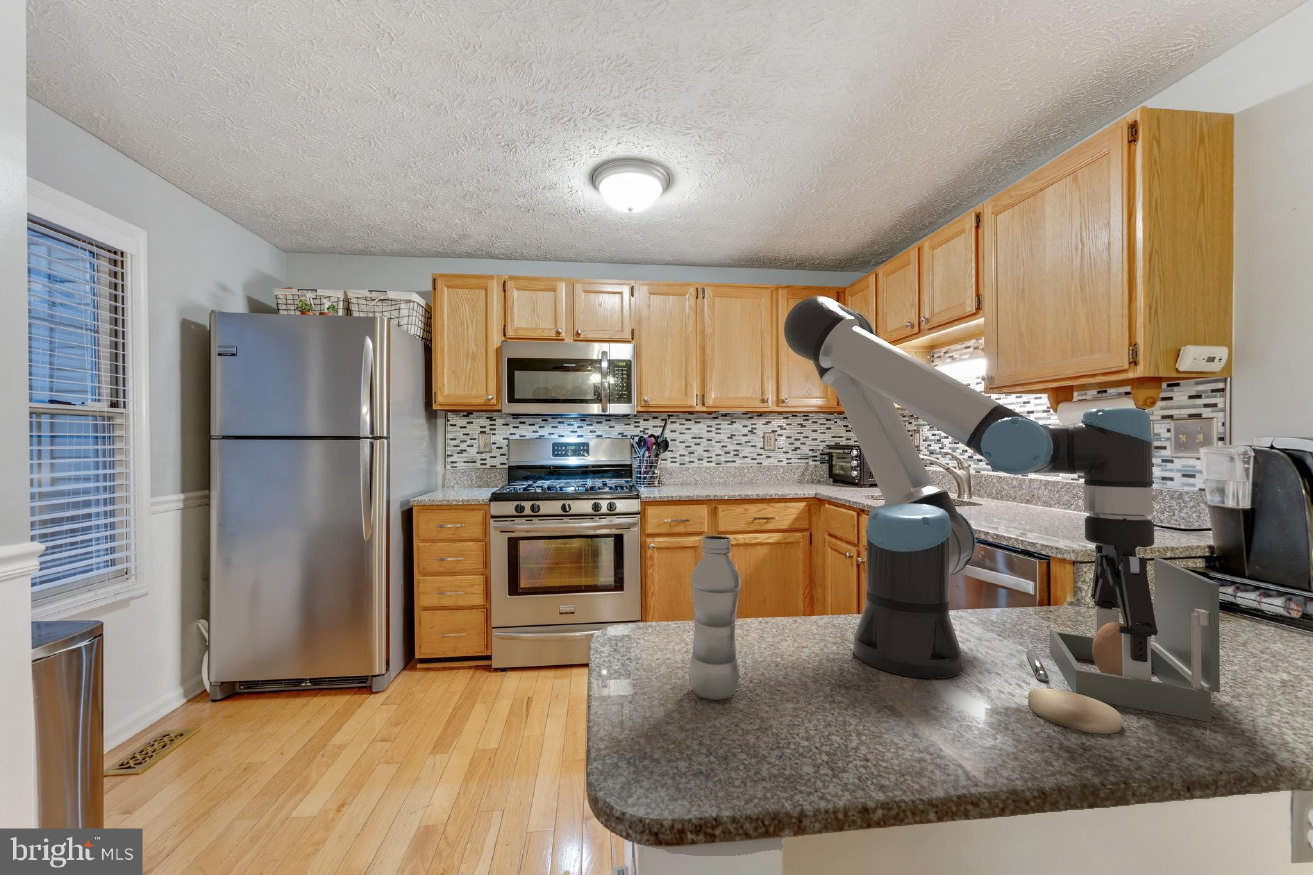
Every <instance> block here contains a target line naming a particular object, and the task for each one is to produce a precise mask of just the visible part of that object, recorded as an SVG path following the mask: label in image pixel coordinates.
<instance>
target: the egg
mask: <svg viewBox="0 0 1313 875" xmlns="http://www.w3.org/2000/svg"><path fill="white" fill-rule="evenodd" d="M1120 626H1123V627H1124V624H1123V622H1122V623H1121V622H1119V623H1118V622H1111V623H1108V624H1105V625H1104V626H1103V627H1101V628H1100V630H1099V631H1098V632H1097V634H1096V633H1095V636H1093V637H1094V639H1093V644H1092V656H1093V659H1094V660H1093V661H1094V664H1095V666H1096V667H1097V669H1098V670H1099V672H1101V673H1107V674H1113V675H1119V676H1123V666H1122V633H1119V632H1118V629H1119V627H1120Z"/></svg>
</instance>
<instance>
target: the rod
mask: <svg viewBox="0 0 1313 875" xmlns="http://www.w3.org/2000/svg"><path fill="white" fill-rule="evenodd" d="M1025 653H1026V656H1027V659H1028V661H1029V664H1030V665H1031V668H1032V670H1033V672H1034V675H1035V677H1036V678H1037V680H1038V681H1041V682H1048V681H1049V675H1048V672H1047V671H1046V669H1045V666H1044V665H1043V663H1042V661H1041V659H1040V657H1039V655H1038V653H1037V652H1036V651H1035V650H1033V649H1028V650H1026V652H1025Z"/></svg>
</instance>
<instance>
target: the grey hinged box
mask: <svg viewBox="0 0 1313 875" xmlns="http://www.w3.org/2000/svg"><path fill="white" fill-rule="evenodd" d="M1153 561H1154V562H1153V563H1154V564H1153V565H1154V567H1153V568H1154V569H1153V570H1154V571H1153V573H1154V574H1153V575H1154V583H1153V584H1154V588H1153V589H1154V590H1153V591H1154V597H1153V598H1154V599H1153V600H1154V601H1153V602H1154V605H1153V611H1154V616H1155V622H1156V627H1157V630H1158V633H1157V635H1156V636H1154V641H1151V673H1152V674H1154V675H1155V676H1156V677H1157V678H1158V680H1160V681H1153V680H1152V681H1148V680H1142V679H1137V678H1131V677H1125V676H1119V675H1113V674H1107V673H1102V672H1101V671H1094V670H1088V669H1083V668H1082V667H1081V666H1080V664H1079V663H1078V661H1077V660H1076V659H1084V660H1089V661H1094V659H1093V656H1092V644H1093V639H1094V637H1095V636H1093V635H1092V636H1091V635H1085V634H1084V635H1083V634H1079V633H1072V632H1064V631H1057V630H1052V629H1051V630H1049V653H1050V655H1051V657H1052V658H1053V660H1054V661H1055V664H1056V666H1057V668H1058V669H1059V670H1060V672H1061V674H1062V676H1063V677H1064V679H1065V681H1066V682H1067V684H1068V686H1069V688H1070V689H1071V692H1073V693H1077V694H1081V695H1084V696H1087V697H1090V698H1093V699H1096V700H1098V701H1101V702H1103V703H1105V704H1109V705H1110V704H1111V705H1117V706H1121V707H1127V708H1133V709H1136V710H1137V709H1139V710H1143V711H1148V712H1154V713H1159V714H1163V713H1165V714H1164V715H1170V716H1174V715H1176V717H1179V716H1180V718H1185V717H1187V719H1190V720H1195V719H1196V721H1201V720H1203V721H1202V722H1207V723H1212V702H1211V699H1212V696H1215V693H1221V684H1220V683H1221V680H1220V679H1221V677H1220V672H1221V671H1220V669H1221V667H1220V666H1221V665H1220V664H1221V662H1220V660H1221V658H1220V656H1221V655H1220V654H1221V653H1220V647H1221V646H1220V583H1218V582H1216V581H1213V580H1211V579H1209V578H1207V577H1204V576H1202V575H1199V574H1198V573H1195V572H1192V571H1190V570H1189V569H1186V568H1185V567H1184V568H1183V567H1181V566H1179V565H1177V564H1175V563H1172V562H1170V561H1167V560H1165V559H1163V558H1159V557H1158V558H1156V557H1154V560H1153ZM1075 658H1076V659H1075ZM1177 715H1178V716H1177Z"/></svg>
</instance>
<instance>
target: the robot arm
mask: <svg viewBox="0 0 1313 875" xmlns="http://www.w3.org/2000/svg"><path fill="white" fill-rule="evenodd" d="M783 335H784V339H785V342H786V344H787V346H788V347H789V348H790V350H791V351H792V352H793V353H794V354H796V355H797V356H799V357H802V358H804V359H806V360H810V361H812V363H813V365H814V367H815V369H816V372H817V374H818V376H819V378H820V381H821V382H822V384H823V385H825V386H829V387H831V388H833V390H834V393H835V394H836V396H837V399H838V401H839V403H840V406H841V407H842V410H843V412H844V414H845V416H846V418H847V420H848V423H849V425H850V426H851V429H852V432H853V434H854V436H855V438H856V440H857V443H858V445H859V447H860V449H861V452H862V454H863V456H864V458H865V460H866V462H867V465H868V467H869V469H870V471H871V473H872V475H873V478H874V480H875V482H876V484H877V487H878V489H879V491H880V493H881V497H882V498H883V501H884V503H883V505H880V506H879V505H878V506H876V507H874V508H873V509H871V510H870V511H869V514H868V516H867V525H866V529H865V535H866V574H865V576H866V583H865V584H866V588H865V589H866V590H865V591H866V592H865V593H866V594H865V595H866V598H865V606H864V608H863V611H862V613H861V617H860V619H859V622H858V624H857V628H856V630H855V632H854V633H855V634H854V636H853V653H854V655H855V656H856V657H857V659H859V660H860V661H861V662H863V663H865V664H867V665H869V666H871V667H874V668H876V669H878V670H882V671H885V672H888V673H892V674H894V675H895V674H896V675H900V676H905V677H911V678H918V679H930V680H931V679H947V678H948V679H949V678H953V677H956V676H958V675H960V674H961V673H962V671H963V651H962V650H961V646H960V644H959V640H958V638H957V637H958V636H957V634H956V632H955V628H954V625H953V622H952V619H951V615H950V584H951V583H950V582H951V581H950V580H951V578H950V576H953V575H956V574H958V573H959V572H961V571H962V570H964V569H965V568H966V567H967V566H968V565H969V564H970V562H971V560H972V559H973V557H974V554H975V551H976V548H977V536H976V533H975V531H974V528H973V526H972V524H971V523H970V522H969V520H968V519H967V518H966V517H965V516H964V515H963V513H960V512H959V511H958V510H957V507H956V505H955V504H954V502H953V500H952V498H951V496H950V494H949V492H948V490H947V489H946V488H944V487H941V486H938V485H936V484H934V482H933V481H932V479H931V476H930V475H929V473H928V471H927V468H926V467H925V464H924V462H923V460H922V458H921V456H920V454H919V452H918V450H917V448H916V446H915V444H914V441H913V440H912V438H911V436H910V434H909V431H908V430H907V427H906V425H905V423H904V421H903V419H902V417H901V415H900V413H899V411H898V409H897V407H896V405H897V406H898V407H900V408H902V409H904V410H905V411H907V412H909V413H910V414H911V415H914V416H915V417H916V418H918V419H920V420H922V421H923V422H924V423H927V424H928V425H930V426H931V427H933V428H935V429H937V430H938V431H940V432H942V433H943V434H945V435H947V436H948V437H950V438H951V439H953V440H954V441H956V442H958V443H960V444H962V445H963V446H965V447H966V448H968V449H970V451H972V452H974V453H975V454H978V455H979V456H980V457H982V458H984V459H985V460H986V461H987V463H988V464H989V466H990V469H991V470H993V471H995V472H998V473H1005V474H1008V475H1015V476H1019V475H1028V474H1071V475H1075V474H1081V475H1082V474H1083V478H1084V479H1083V483H1084V484H1083V509H1084V512H1085V513H1088V515H1086V517H1085V518H1084V539H1085V540H1086V541H1087V542H1089V543H1092V544H1093V543H1094V544H1095V546H1094V549H1095V557H1094V558H1095V561H1094V569H1093V578H1092V583H1091V584H1092V586H1091V592H1090V597H1091V599H1092V600H1093V603H1094V606H1095V609H1094V610H1095V611H1094V612H1095V620H1094V621H1095V635H1096V634H1097V632H1098V631H1099V630H1100V628H1101V627H1103V626H1104V625H1105V624H1108V623H1111V622H1118V623H1120V614H1121V618H1122V619H1121V620H1122V624H1124V627H1123V626H1120V627H1119V629H1118V632H1119V633H1122V666H1123V676H1125V677H1131V678H1137V679H1142V680H1148V681H1153V679H1152V671H1151V645H1152V641H1151V638H1152V636H1154V637H1155V636H1156V635H1157V633H1158V630H1157V627H1156V622H1155V615H1154V605H1153V600H1152V594H1151V588H1150V583H1149V577H1148V565H1147V564H1148V560H1147V559H1146V557H1144V556H1143V557H1140V556H1138V555H1137V552H1136V550H1137V548H1151V547H1153V546H1154V545H1155V523H1154V522H1153V520H1152V519H1148V517H1151V516H1153V515H1154V502H1156V501H1158V499H1159V495H1158V494H1156V493H1153V486H1154V485H1153V482H1154V481H1153V480H1154V478H1153V475H1154V474H1153V466H1154V465H1153V436H1152V435H1153V434H1152V425H1151V416H1150V414H1149V413H1148V412H1147V411H1146V410H1144V409H1142V408H1138V407H1112V408H1110V407H1109V408H1098V409H1097V408H1096V409H1089V410H1086V411H1084V413H1083V415H1082V419H1081V422H1079V423H1070V424H1040V423H1038V422H1036V421H1034V420H1033V419H1031V418H1028V417H1026V416H1024V415H1022V414H1021V413H1020V412H1019V413H1018V412H1017V411H1015V410H1013V409H1011V408H1009V407H1008V406H1004V405H1003V404H1001V403H1000V402H998V401H996V400H995V399H992V398H990V397H989V396H987V395H985V394H983V393H981V392H979V391H977V390H976V389H973V388H972V387H970V386H969V385H967V384H965V383H963V382H961V381H960V380H957V379H956V378H953V377H952V376H949V375H948V374H946V373H945V372H943V371H941V370H939V369H937V368H935V367H933V366H931V365H929V364H928V363H926V362H924V361H922V360H920V359H918V358H916V357H915V356H914V355H911V354H910V353H907V352H905V351H903V350H902V349H900V348H899V347H896V346H895V345H892V344H890V343H889V342H887V341H885V340H883V339H881V338H879V337H878V336H876V332H875V330H874V327H873V326H872V324H871V322H869V320H868V319H867V318H866V317H864V315H862V314H861V313H859V312H858V311H855V310H854V309H850V308H848V307H846V306H845V305H843V304H841V303H840V302H837V301H836V300H834V299H832V298H829V297H826V296H821V295H818V296H817V295H816V296H809V297H807V298H805V299H802V300H801V301H799V302H797V303H796V304H795V305H794V306H793V307H792V308H791V309H790V310H789V311H788V314H787V316H786V317H785V320H784V325H783Z"/></svg>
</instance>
